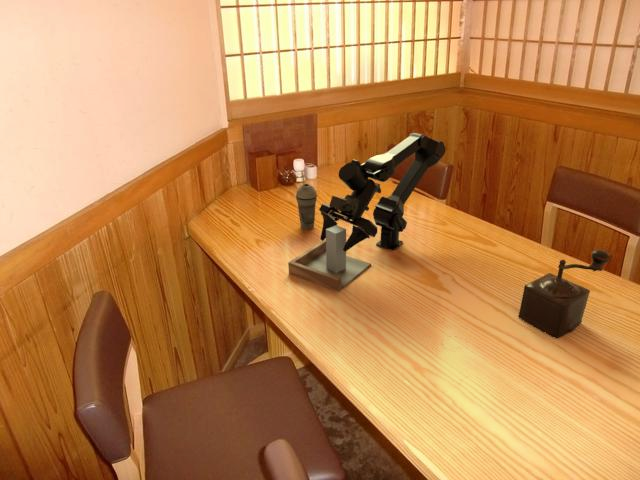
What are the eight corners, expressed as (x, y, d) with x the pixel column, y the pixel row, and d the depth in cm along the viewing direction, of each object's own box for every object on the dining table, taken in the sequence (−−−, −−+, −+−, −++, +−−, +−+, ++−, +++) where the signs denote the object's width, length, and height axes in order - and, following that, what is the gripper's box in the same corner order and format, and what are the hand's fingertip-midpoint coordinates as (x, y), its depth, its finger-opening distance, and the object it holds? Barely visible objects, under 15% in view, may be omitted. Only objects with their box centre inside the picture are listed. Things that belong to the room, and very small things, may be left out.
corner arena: (323, 250, 146) (323, 240, 145) (371, 265, 137) (371, 254, 135) (288, 273, 134) (288, 262, 132) (338, 291, 125) (338, 280, 123)
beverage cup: (315, 232, 158) (314, 176, 149) (294, 230, 159) (292, 175, 150) (319, 223, 164) (318, 169, 156) (299, 222, 166) (297, 168, 157)
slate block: (336, 263, 137) (336, 225, 132) (346, 268, 135) (346, 229, 129) (326, 268, 135) (325, 229, 129) (336, 273, 132) (335, 233, 127)
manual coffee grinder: (559, 341, 105) (577, 272, 97) (516, 317, 113) (530, 252, 105) (596, 317, 112) (616, 251, 104) (553, 296, 120) (569, 234, 112)
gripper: (323, 176, 132) (294, 223, 131) (371, 192, 120) (341, 244, 118) (342, 195, 140) (316, 239, 139) (390, 212, 128) (361, 261, 126)
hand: (332, 245), depth 130 cm, fingers open, 9 cm apart
